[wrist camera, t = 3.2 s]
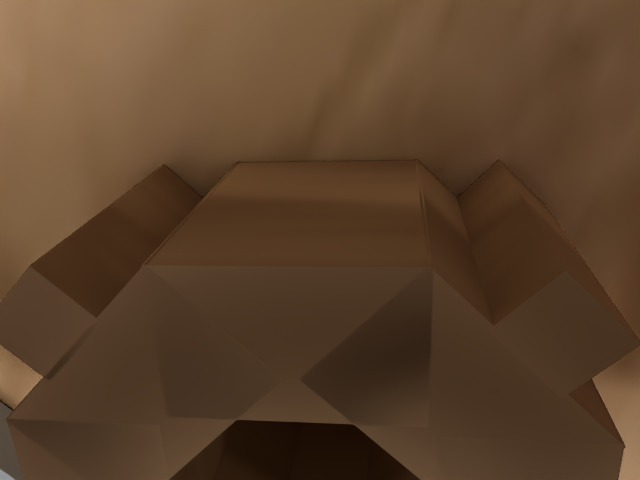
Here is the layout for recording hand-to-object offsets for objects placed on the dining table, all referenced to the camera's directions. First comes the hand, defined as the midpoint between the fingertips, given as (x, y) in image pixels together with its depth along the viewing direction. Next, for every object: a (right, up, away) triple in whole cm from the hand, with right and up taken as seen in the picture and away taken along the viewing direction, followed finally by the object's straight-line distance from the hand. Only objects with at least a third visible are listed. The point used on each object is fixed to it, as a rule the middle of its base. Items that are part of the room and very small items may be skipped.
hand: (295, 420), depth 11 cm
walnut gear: (+1, +1, +2) cm, 3 cm away
